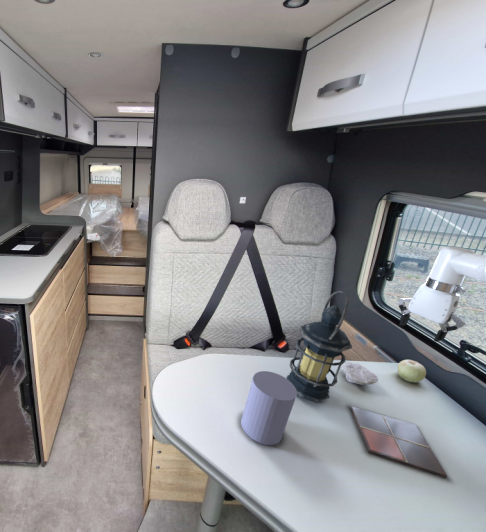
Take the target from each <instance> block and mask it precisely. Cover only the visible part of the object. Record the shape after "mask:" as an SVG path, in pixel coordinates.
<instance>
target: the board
mask: <svg viewBox="0 0 486 532" xmlns="http://www.w3.org/2000/svg"><path fill="white" fill-rule="evenodd" d="M350 410H351V413H352V416H353V418H354V420H355V423H356V425H357V428H358V431H359V433H360V436H361V438H362V440H363V442H364V445H365V448H366V451H367V453H368V454H370V455H374V456H377V457H380V458H383V459H386V460H389V461H392V462H394V463H395V462H396V463H398V464H401V465H405V466H408V467H411V468H413V469H417V470H420V471H423V472H426V473H429V474H432V475H435V476H438V477H442V478H444V479H447V477H448V475H447V473H446V471H445V469H444V468H443V466H442V465H441V463H440V462H439V460H438V459H437V457H436V455H435V454H434V452H433V450H432V448H431V447H430V445H429V443H428V442H427V441H426V439H425V437H424V435H423V434H422V433H421V431H420V429H419V428H418V426H417V424H415V423H411V422H407V421H404V420H401V419H397V418H393V417H390V416H387V415H384V414H380V413H376V412H373V411H369V410H365V409H362V408H360V407H356V406H352V405H351V406H350Z"/></svg>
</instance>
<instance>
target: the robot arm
mask: <svg viewBox="0 0 486 532" xmlns="http://www.w3.org/2000/svg"><path fill="white" fill-rule="evenodd" d="M466 277H469V278H471V279H473V280H476V281H480V282H483V283H486V253H484V254H477V253H475V252H474V251H473V250H471V249H467V248H464V247H459V246H452V245H446V246H443V247H441V248H440V250H439V252H438V254H437V257H436V259H435V261H434V263H433V265H432V268H431V270H430V272H429V274H428V276H427V278H426V281H425V283H423V284H421V285H420V286H419V288H418V289H417V290H416V292H415V293H414V294H413V296H412V297H411V298H409V297H407V298H406V297H404V298H398V299H397V302H398V308H399V310H400V311H401V312H400V313H401V316H400V318H399V320H398V321H399V326H400V327H404V326H406V325H408V322H409V320H410V318H411V313H412V314H414V315H416V316H419V317H422V318H424V319H426V320H429V321H432V322H433V323H437V324H438V325H439V327H440V329H439V330H438V331H437V333H436V334H435V336H434V338H433V341H434V342H435V343H437V342H441V341H444V340H445V338H446V336H447V335H448V333H449V332H452V331H456V330H459V329H461V328H463V327H465V326H466V325H467V323H466V322H464V320H463V319H461V318H460V316H458V315H457V314H456V311H457V308H458V306H459V303H460V298H461V295H460V294H464V293H465V292H466V289H465V288H463V287H462V286H463V285H462V284H463V282H464V280H465V278H466ZM406 303H408V306H406ZM452 321H453V322H454V323H455V324H454V325H450V324H449V323H451V322H452Z"/></svg>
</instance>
